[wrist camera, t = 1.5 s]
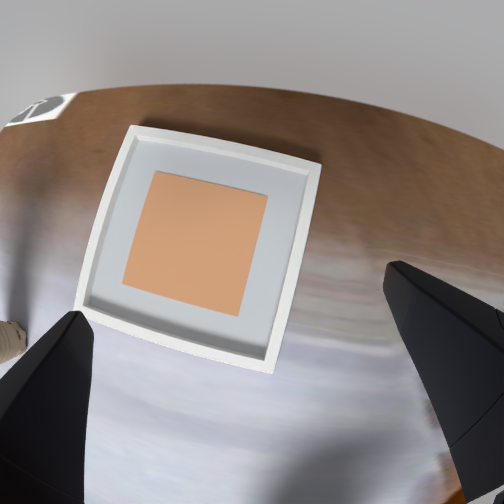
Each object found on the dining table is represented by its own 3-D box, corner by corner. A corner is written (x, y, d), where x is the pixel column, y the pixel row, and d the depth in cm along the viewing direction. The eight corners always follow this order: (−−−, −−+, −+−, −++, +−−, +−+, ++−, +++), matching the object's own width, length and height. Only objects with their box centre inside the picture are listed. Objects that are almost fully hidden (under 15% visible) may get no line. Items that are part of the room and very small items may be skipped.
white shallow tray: (272, 370, 22) (274, 377, 20) (81, 312, 22) (70, 314, 20) (319, 171, 24) (324, 162, 22) (135, 132, 24) (129, 122, 22)
